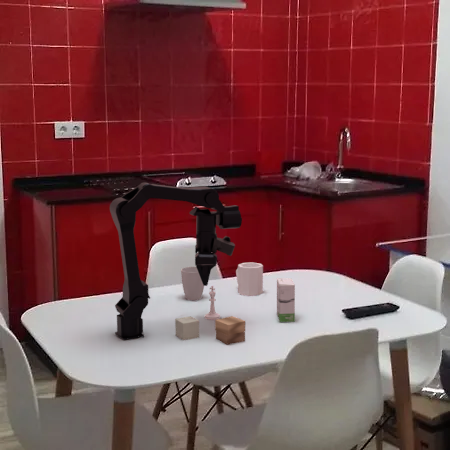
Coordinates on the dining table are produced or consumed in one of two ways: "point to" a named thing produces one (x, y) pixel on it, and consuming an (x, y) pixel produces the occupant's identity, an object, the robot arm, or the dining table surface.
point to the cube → (187, 328)
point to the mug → (250, 279)
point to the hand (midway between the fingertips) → (205, 281)
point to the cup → (192, 283)
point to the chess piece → (212, 307)
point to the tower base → (230, 337)
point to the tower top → (230, 325)
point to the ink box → (285, 300)
